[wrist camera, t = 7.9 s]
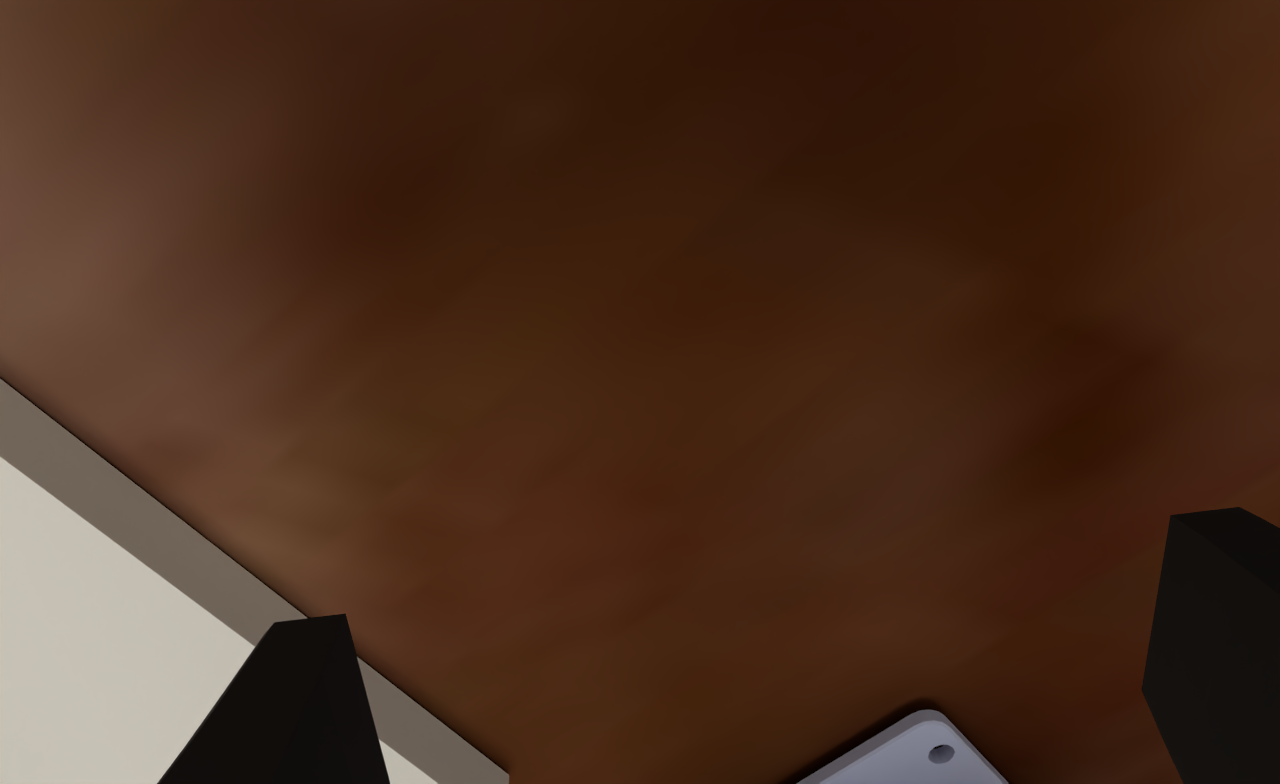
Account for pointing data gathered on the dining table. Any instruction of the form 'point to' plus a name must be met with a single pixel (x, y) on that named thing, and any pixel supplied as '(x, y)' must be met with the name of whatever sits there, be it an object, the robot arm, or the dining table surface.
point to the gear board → (139, 627)
